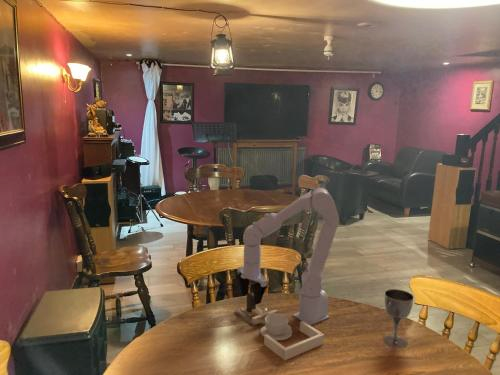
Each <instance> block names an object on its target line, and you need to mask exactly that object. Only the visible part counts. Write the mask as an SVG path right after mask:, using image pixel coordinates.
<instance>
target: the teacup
mask: <svg viewBox="0 0 500 375" xmlns="http://www.w3.org/2000/svg"><path fill="white" fill-rule="evenodd" d="M266 334H267V335H269V336H270V337H272V338H273V339H274V340H276V341H285V340H287V339H289V338H291V337H292V336H293V331H292V327H291V325H289V318H288V317H287V316H286V315H285V314H281V313H279V314H270V315H267V316H266V317H265V321H264V325H263V326H262V327H260V335H261V336H263V337H264V335H266Z"/></svg>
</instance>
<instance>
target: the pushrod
mask: <svg viewBox="0 0 500 375" xmlns="http://www.w3.org/2000/svg"><path fill="white" fill-rule="evenodd" d="M256 305H257V304H255V302H254V293H253V292H248V294H247V295H246V306H244V307H240V309H239V310H240V311H242V312H243V313H245V314H246V315H247V316H249V317H250V318H251V319H252V324H254V325H255V324H256V325H257V324H260V323H263V322H264V323H265V317H266V316H267V315H270V314H280V313H279V310H278V309H273V310H270V311H266V312H267V313H263V312H262V311H261V310H259V309H258V308H256ZM252 324H251V325H252ZM256 325H255V326H256Z"/></svg>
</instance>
